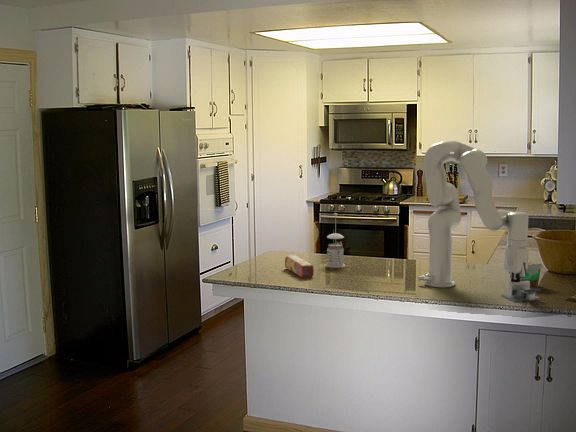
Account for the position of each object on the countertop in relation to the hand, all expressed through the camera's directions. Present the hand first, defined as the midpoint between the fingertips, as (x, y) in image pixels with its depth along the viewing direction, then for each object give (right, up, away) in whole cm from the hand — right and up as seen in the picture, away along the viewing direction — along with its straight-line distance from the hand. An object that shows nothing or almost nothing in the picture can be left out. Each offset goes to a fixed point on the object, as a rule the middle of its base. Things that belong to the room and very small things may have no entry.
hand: (515, 288), depth 282 cm
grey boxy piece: (+3, -2, -6) cm, 7 cm away
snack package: (-85, +3, +39) cm, 93 cm away
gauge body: (+1, -3, -3) cm, 4 cm away
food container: (+9, -1, +15) cm, 18 cm away
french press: (-67, +5, +54) cm, 87 cm away
